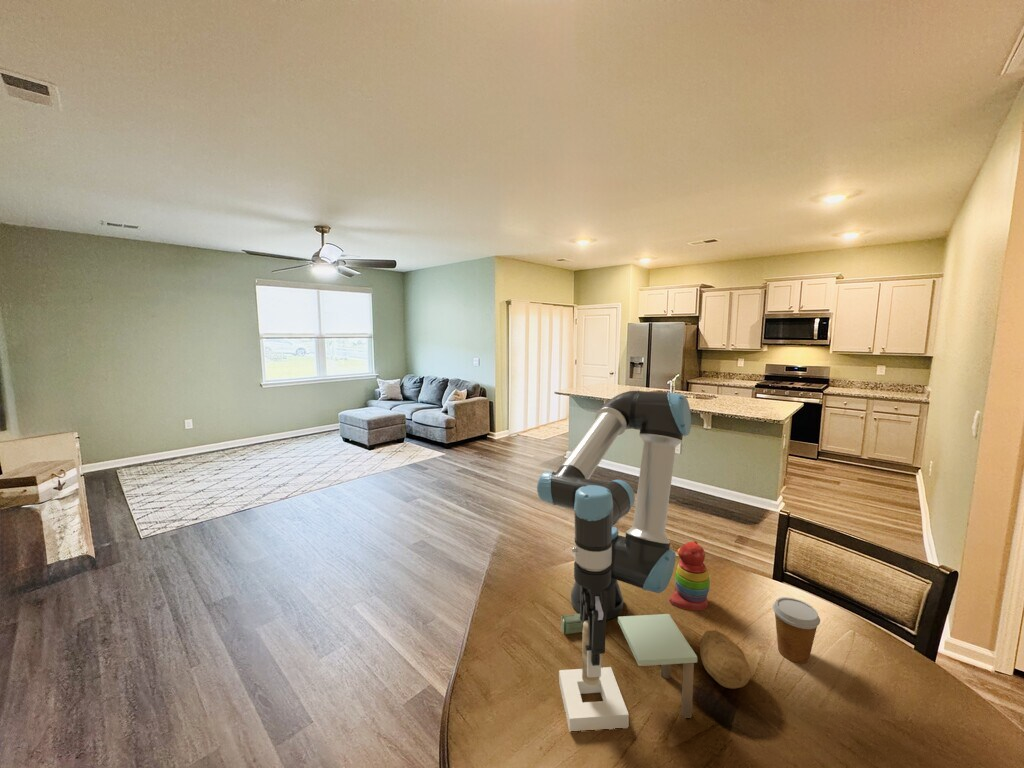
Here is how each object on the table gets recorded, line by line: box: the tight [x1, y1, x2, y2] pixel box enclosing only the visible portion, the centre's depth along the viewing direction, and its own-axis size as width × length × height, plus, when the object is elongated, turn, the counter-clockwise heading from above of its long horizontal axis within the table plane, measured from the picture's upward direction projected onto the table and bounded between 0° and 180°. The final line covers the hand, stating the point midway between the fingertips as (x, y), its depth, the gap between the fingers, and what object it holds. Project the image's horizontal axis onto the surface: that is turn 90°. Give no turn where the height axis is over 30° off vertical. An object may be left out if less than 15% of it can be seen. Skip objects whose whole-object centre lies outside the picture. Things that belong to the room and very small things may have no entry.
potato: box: [699, 629, 752, 690], centre depth 94 cm, size 10×14×8 cm
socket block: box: [558, 666, 630, 733], centre depth 88 cm, size 12×12×3 cm
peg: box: [581, 620, 599, 685], centre depth 86 cm, size 4×4×12 cm
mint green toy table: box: [617, 613, 698, 719], centre depth 89 cm, size 13×12×14 cm
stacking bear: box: [668, 539, 711, 611], centre depth 121 cm, size 11×10×18 cm
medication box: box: [560, 613, 583, 635], centre depth 110 cm, size 12×3×4 cm, turn 100°
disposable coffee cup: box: [772, 596, 821, 664], centre depth 100 cm, size 10×10×12 cm
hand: (591, 667), depth 87 cm, fingers closed on peg, 3 cm apart
